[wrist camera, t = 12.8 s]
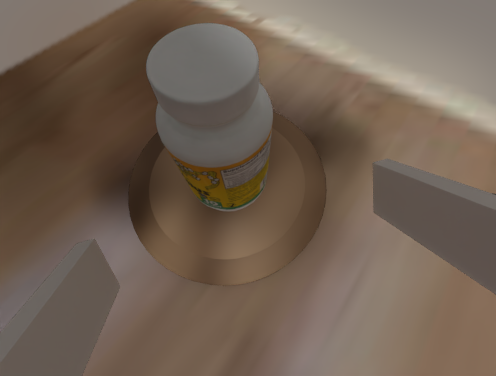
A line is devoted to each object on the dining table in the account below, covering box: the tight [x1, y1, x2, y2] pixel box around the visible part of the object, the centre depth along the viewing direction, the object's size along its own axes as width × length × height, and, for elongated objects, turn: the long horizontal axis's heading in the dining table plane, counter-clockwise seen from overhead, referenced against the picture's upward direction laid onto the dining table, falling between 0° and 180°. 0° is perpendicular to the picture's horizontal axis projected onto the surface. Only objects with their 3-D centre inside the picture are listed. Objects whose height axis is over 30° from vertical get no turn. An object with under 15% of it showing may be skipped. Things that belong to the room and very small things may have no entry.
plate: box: [128, 112, 326, 286], centre depth 18 cm, size 14×14×1 cm
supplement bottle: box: [146, 23, 273, 211], centre depth 13 cm, size 5×5×10 cm
